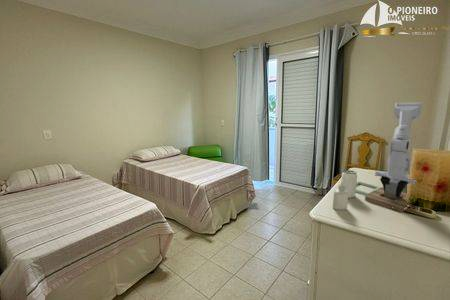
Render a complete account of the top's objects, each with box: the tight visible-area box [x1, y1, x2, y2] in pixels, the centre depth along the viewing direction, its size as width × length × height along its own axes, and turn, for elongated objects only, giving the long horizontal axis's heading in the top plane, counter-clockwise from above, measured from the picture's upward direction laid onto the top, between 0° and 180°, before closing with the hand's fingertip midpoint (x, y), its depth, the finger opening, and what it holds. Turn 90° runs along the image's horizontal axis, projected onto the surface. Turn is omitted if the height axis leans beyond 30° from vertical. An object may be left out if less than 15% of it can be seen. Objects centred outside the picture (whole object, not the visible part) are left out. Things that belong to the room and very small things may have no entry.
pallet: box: [364, 187, 410, 213], centre depth 95 cm, size 18×14×2 cm
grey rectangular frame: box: [355, 180, 382, 196], centre depth 108 cm, size 14×11×1 cm
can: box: [340, 169, 358, 199], centre depth 101 cm, size 6×6×12 cm
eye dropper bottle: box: [332, 181, 349, 211], centre depth 88 cm, size 4×6×12 cm
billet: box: [384, 182, 399, 201], centre depth 94 cm, size 5×4×7 cm
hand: (391, 194), depth 95 cm, fingers closed on billet, 4 cm apart
